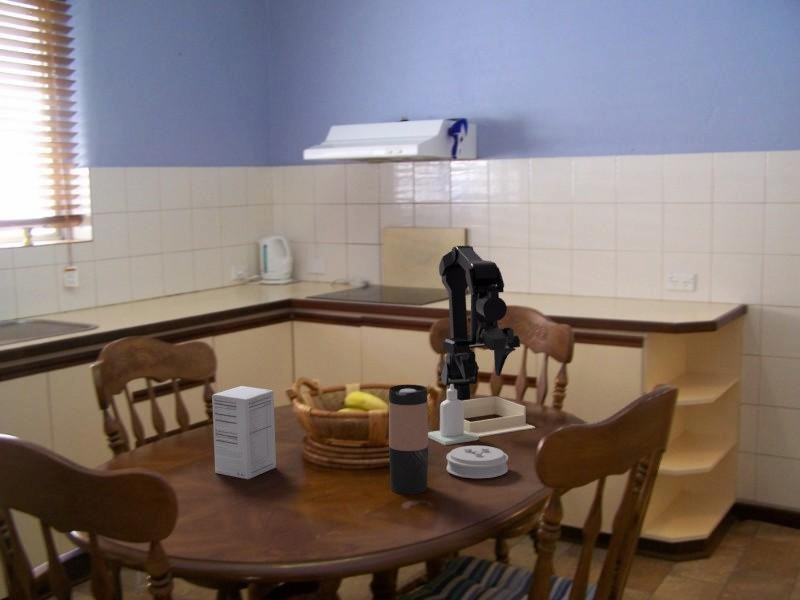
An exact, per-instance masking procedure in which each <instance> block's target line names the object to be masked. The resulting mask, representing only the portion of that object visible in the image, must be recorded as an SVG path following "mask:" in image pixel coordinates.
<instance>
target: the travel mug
mask: <svg viewBox="0 0 800 600" xmlns="http://www.w3.org/2000/svg"><path fill="white" fill-rule="evenodd" d="M428 404H429V403H428V387H426V386H424V385H420V384H396V385H392V386H390V387H389V388H388V451H389V452H388V453H389V474H390V475H389V476H390V477H389V478H390V480H389V481H390V489H391V491H393V492H394V493H397V494H401V495H416V494H421V493H424V492H425V491H427V488H428V473H429V472H428V470H429V469H428V468H429V467H428V465H429V463H428V462H429V437H428V432H429V416H428V415H429V411H428V410H429V408H428Z"/></svg>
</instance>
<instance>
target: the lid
mask: <svg viewBox="0 0 800 600" xmlns="http://www.w3.org/2000/svg"><path fill="white" fill-rule="evenodd" d="M446 460H447V465H446V471H447V472H448V473H449V474H452V475H453V476H457V477H461V478H466V479H467V478H468V479H469V478H470V479H486V478H487V479H489V478H490V479H491V478H495V477H499V476H503V475H504V474H506V473H508V471H509V467H508V465H507V461H508V460H509V456H508V455H507V453H505V452H504V451H503V450H501V449H500V448H497V447H493V446H488V445H466V446H459V447H456V448H454V449H452V450H451V451H450V452H448V453H447V454H446Z"/></svg>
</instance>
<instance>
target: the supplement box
mask: <svg viewBox="0 0 800 600" xmlns="http://www.w3.org/2000/svg"><path fill="white" fill-rule="evenodd" d="M274 393H275V391H274V390H271V389H266V388H265V389H264V388H258V387H251V386H244V385H240V386H237V387H233V388H229V389H227V390H223V391H221V392H217V393H214V394H212V395H211V402H212V421H213V422H212V424H213V427H212V428H213V447H214V448H213V449H214V453H213V454H214V470H215V471H214V473H215V474H219V475H220V474H221V475H225V476H229V477H230V476H231V477H234V478H239V479H243V480H244V479H245V480H250V479H253V478H255V477H257V476H259V475H261V474H264V473H266V472H268V471H271V470H273V469H275V468H277V463H276V461H277V459H276V458H277V457H276V431H275V430H276V427H275V395H274Z"/></svg>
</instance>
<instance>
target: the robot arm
mask: <svg viewBox="0 0 800 600" xmlns="http://www.w3.org/2000/svg"><path fill="white" fill-rule="evenodd" d="M438 265H439V266H438V270H439V271H438V273H439V276H440V277H441V283H442V286H444V288H445V289H446V291H447V294H448V310H449V328H450V329H449V331H450V337H449V338H445V340H444V341H443V343H442V344H443V346H442V347H443V348H442V350H443V351H445V352H446V353H447V354H446V355H445V362H444V364H443V368H442V370H441V374H440V376H441V377H440V378H441V383H442V384H443V385H444V386H447V390H448V389H449V388H450V384H453V385H454V389H456V390H457V399H458V400H461V401H464V400H471V385H477V382H478V375H479V369H480V367H479V365H478V362H477V361H476V353H475V352H474V351H473V350H472V349H473V348H474V349H475V348H483V347H486V348H487V349H488V350H490V351H493V356H494V357H493V358H494V370H495V375H496V377H500V376H501V373H502V370H503V368H504V366H505V363H506V360H507V359H508V356H509V355H510V354H511V353H512V352H515V351H516V350H517V348H521V339H520V337H519V335H518V334H514V331H515V330H514V329H513V328H512V327H511V326H509V327H503V328H499V322H500V321H501V320H502V319H503V318H504V317H505V316H506V314H507V312H508V311H507V310H508V306H507V303H506V302H505V300H504V299H502V298H501V297H500V293H504V288H505V282H504V280H503V275H502V272H501V271H500V267H498V264H497V263H496V262H494V261H491V260H484V259H482V258H481V256H479V254H477V252H476V251H475V250H474V247H473V246H471V245H455V246H453V247H452V248H451V251H449V252H447V253H446V254H445V255H443V256H442V257H441V260H440V262H439V264H438ZM467 289H468V290H469V292H470V317H468V315H467V295H466V293H467V292H466V291H467ZM498 321H499V322H498ZM468 323H470V326H469V327H470V333H469V332H468V329H469V328H468Z"/></svg>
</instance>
